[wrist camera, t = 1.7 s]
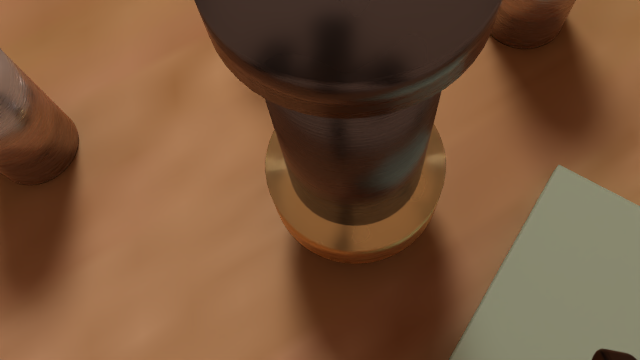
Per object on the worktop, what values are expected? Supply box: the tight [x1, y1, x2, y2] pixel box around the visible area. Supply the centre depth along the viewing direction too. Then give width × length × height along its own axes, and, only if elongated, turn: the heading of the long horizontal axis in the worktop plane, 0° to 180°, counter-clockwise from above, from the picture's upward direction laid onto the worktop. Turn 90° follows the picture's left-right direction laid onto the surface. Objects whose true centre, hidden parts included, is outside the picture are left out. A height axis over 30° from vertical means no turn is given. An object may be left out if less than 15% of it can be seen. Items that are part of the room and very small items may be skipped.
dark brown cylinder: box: [195, 0, 502, 264], centre depth 16 cm, size 5×5×13 cm
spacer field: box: [0, 0, 576, 185], centre depth 21 cm, size 12×28×5 cm, turn 78°
